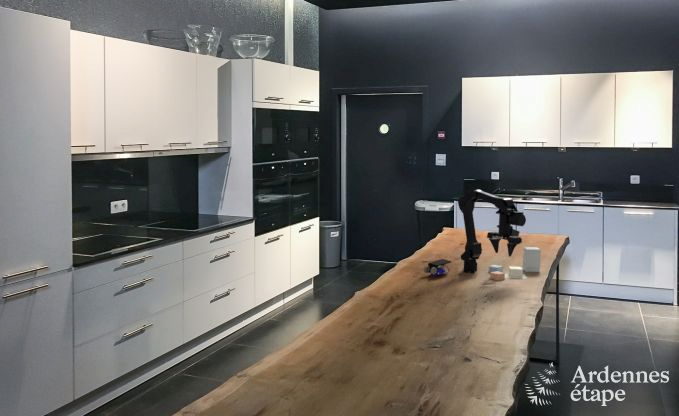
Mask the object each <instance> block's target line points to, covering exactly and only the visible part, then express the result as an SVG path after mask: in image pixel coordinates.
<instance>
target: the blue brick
mask: <svg viewBox="0 0 679 416" xmlns="http://www.w3.org/2000/svg"><path fill="white" fill-rule="evenodd" d="M495 271H499V272H503V265H499V264H492V265H489V266H488V273H490V272H495Z"/></svg>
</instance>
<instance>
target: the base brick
mask: <svg viewBox="0 0 679 416" xmlns="http://www.w3.org/2000/svg"><path fill="white" fill-rule="evenodd" d="M522 267H523V266H510V265H509V266H508V274H509V276H510V277H523V274H524V270H523V269H522Z"/></svg>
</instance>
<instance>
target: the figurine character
mask: <svg viewBox="0 0 679 416" xmlns="http://www.w3.org/2000/svg"><path fill="white" fill-rule="evenodd" d="M452 261H453V260H448V259H445V258H444V259H443V258H441V259H436V260H433V261H430V262H428V264H427V265H425V266H424V267H423V269H422V271H423V272H424V273H426V274H428V273H429V274H428V275H427V276H428V277H432V278H435V277H438V276H439V275H441V274H442V275H446V274H448V273H449V271H450V269H449V268H450V266H449V265H447V264H450V263H452Z"/></svg>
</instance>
